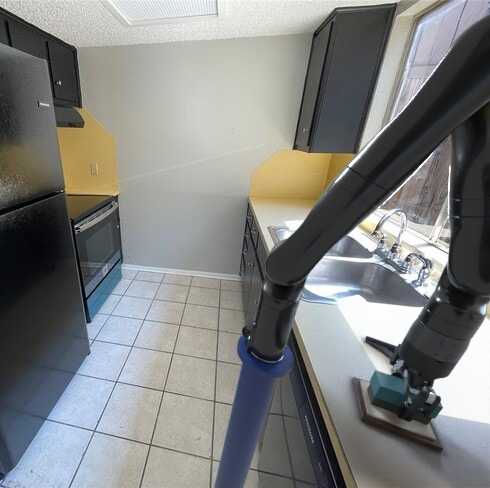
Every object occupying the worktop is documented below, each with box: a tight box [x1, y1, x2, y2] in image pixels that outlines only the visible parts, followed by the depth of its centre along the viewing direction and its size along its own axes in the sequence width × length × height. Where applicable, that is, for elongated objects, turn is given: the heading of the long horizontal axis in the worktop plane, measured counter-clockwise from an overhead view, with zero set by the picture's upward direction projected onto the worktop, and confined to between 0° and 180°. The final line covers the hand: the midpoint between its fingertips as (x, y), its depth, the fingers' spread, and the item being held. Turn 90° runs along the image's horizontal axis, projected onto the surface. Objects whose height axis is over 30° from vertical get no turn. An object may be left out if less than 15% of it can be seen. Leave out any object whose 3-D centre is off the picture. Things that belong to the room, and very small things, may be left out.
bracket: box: [364, 335, 403, 362], centre depth 67 cm, size 14×15×3 cm
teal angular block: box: [367, 369, 444, 425], centre depth 55 cm, size 10×4×6 cm, turn 65°
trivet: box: [351, 376, 445, 453], centre depth 56 cm, size 13×11×2 cm
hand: (396, 402), depth 55 cm, fingers open, 7 cm apart
